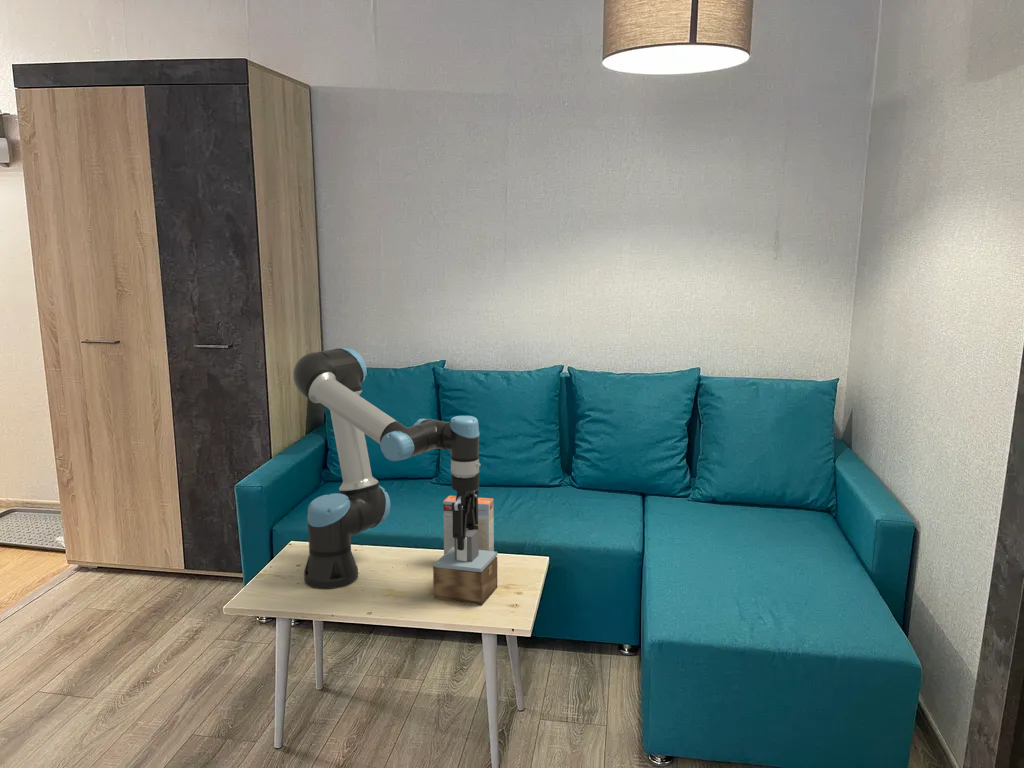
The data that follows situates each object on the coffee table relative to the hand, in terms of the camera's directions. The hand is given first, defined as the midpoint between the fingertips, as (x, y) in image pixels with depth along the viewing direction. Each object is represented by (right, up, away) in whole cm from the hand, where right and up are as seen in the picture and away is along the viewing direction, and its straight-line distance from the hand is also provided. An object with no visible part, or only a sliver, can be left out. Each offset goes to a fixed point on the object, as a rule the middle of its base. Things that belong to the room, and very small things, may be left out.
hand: (466, 556), depth 218 cm
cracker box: (0, -8, +20) cm, 21 cm away
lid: (0, -1, 0) cm, 1 cm away
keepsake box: (0, -10, +2) cm, 11 cm away
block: (0, 0, 0) cm, 0 cm away
